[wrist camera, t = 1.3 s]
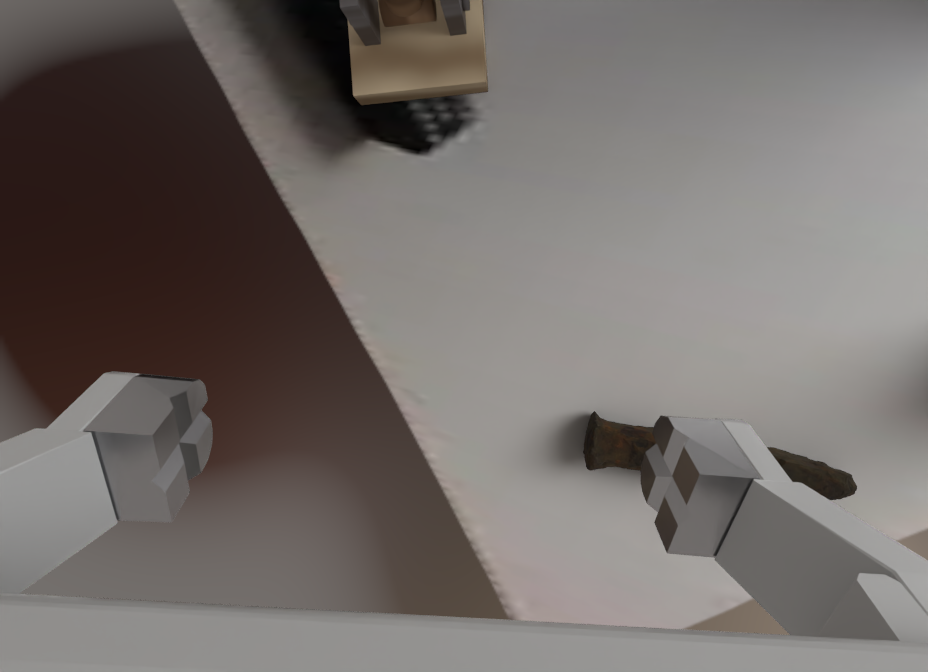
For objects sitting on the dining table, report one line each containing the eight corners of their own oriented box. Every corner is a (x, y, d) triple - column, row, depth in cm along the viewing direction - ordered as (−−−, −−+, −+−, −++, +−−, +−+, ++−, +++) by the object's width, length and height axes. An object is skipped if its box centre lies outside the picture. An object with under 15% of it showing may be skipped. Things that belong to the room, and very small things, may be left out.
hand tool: (578, 456, 43) (584, 476, 39) (587, 408, 43) (595, 422, 38) (827, 507, 42) (864, 534, 37) (839, 456, 41) (878, 477, 37)
